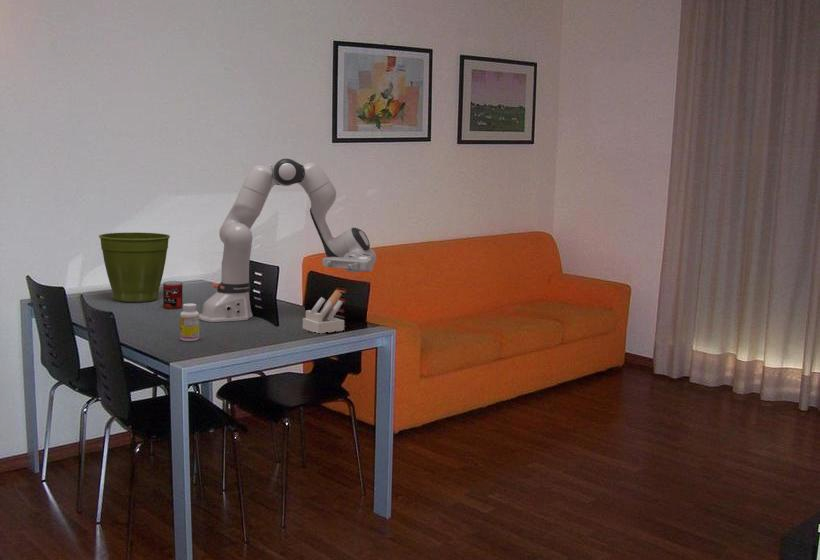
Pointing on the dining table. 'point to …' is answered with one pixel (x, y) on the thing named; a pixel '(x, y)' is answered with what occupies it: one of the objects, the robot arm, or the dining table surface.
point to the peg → (333, 301)
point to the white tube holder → (317, 320)
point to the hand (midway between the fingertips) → (338, 265)
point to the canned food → (172, 295)
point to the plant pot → (134, 264)
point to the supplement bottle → (189, 323)
